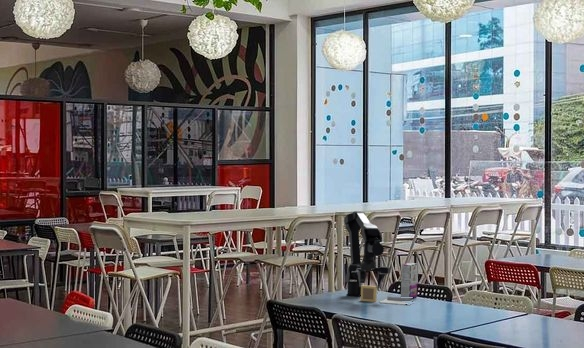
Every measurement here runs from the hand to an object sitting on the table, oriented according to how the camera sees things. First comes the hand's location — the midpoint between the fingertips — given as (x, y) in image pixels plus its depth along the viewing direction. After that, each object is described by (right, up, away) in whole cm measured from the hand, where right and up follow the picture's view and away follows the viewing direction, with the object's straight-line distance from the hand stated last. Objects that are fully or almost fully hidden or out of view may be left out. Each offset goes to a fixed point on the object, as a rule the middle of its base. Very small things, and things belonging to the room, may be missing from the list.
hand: (368, 287), depth 401 cm
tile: (0, -6, 0) cm, 6 cm away
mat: (+13, -7, -2) cm, 15 cm away
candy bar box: (+21, -7, +17) cm, 28 cm away
